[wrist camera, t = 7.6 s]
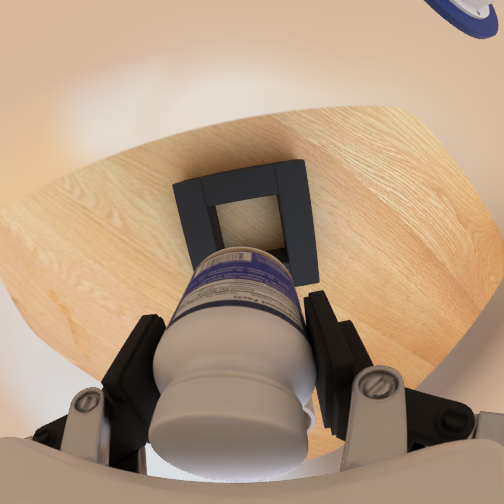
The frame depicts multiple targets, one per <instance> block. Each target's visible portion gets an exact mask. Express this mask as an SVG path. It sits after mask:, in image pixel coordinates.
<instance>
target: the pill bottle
mask: <svg viewBox="0 0 504 504" xmlns="http://www.w3.org/2000/svg"><path fill="white" fill-rule="evenodd" d="M153 374H154V379H155V383H156V385H157V388H158V390H159V392H160V394H161V396H160V398H159V400H158V402H157V405H156V408H155V411H154V414H153V418H152V421H151V425H150V428H149V442H150V444H151V446H152V448H153V449H154V451H155V452H156V453H157V454H158V455H159V456H160V457H161V458H163V459H164V460H165V461H166V462H168V463H170V464H172V465H173V466H175V467H177V468H179V469H181V470H183V471H186V472H188V473H191V474H194V475H197V476H200V477H204V478H209V479H214V480H221V481H235V482H244V481H258V480H264V479H269V478H273V477H276V476H280V475H282V474H285V473H287V472H289V471H291V470H293V469H295V468H296V467H297V466H299V465H300V464H301V463H302V462H303V460H304V459H305V458H306V456H307V453H308V437H307V427H306V417H305V413H304V410H303V407H304V406H305V405H306V403H307V402H308V401H309V399H310V397H311V395H312V393H313V390H314V388H315V384H316V378H317V369H316V362H315V357H314V353H313V349H312V345H311V342H310V338H309V335H308V331H307V328H306V324H305V320H304V317H303V314H302V310H301V307H300V303H299V300H298V296H297V293H296V289H295V286H294V283H293V280H292V278H291V275H290V274H289V272H288V270H287V269H286V268H285V266H284V265H283V264H282V263H281V262H280V261H279V260H278V259H276V258H275V257H274V256H272V255H271V254H269V253H267V252H265V251H262V250H260V249H256V248H252V247H244V246H238V247H230V248H225V249H222V250H220V251H217V252H215V253H213V254H212V255H210V256H208V257H207V258H206V259H205V260H204V261H203V262H202V263H201V264H200V265H199V266H198V267H197V269H196V270H195V272H194V274H193V276H192V278H191V280H190V282H189V284H188V286H187V288H186V290H185V292H184V294H183V296H182V298H181V300H180V302H179V304H178V306H177V308H176V310H175V312H174V314H173V316H172V318H171V320H170V322H169V324H168V326H167V328H166V330H165V332H164V334H163V336H162V338H161V340H160V342H159V344H158V346H157V349H156V351H155V355H154V360H153Z"/></svg>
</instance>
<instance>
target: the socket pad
mask: <svg viewBox="0 0 504 504" xmlns="http://www.w3.org/2000/svg"><path fill="white" fill-rule="evenodd" d="M173 190H174V194H175V199H176V203H177V207H178V212H179V216H180V220H181V224H182V228H183V232H184V236H185V240H186V244H187V247H188V251H189V255H190V259H191V262H192V266H193V270H194V272H195V270H196V269H197V267H198V266H199V265H200V264H201V263H202V262H203V261H204V260H205V259H206V258H207V257H208V256H210V255H212V254H213V253H215V252H217V251H220V250H222V249H225V248H224V243H223V239H222V234H221V230H220V225H219V220H218V216H217V211H216V207H215V205H220V204H225V203H230V202H235V201H241V200H246V199H252V198H258V197H264V196H269V195H276V194H277V199H278V205H279V211H280V217H281V224H282V230H283V237H284V243H285V248H282V249H276V250H270V251H265V252H267V253H269V254H271V255H272V256H274V257H275V258H276V259H278V260H279V261H280V262H281V263H282V264H283V265H284V266H285V268H286V269H287V270H288V272H289V274H290V275H291V278H292V280H293V283H294V286H295V287H298V286H304V285H309V284H315V283H319V270H318V260H317V250H316V241H315V232H314V224H313V216H312V208H311V201H310V194H309V187H308V180H307V174H306V167H305V161H304V160H303V159H296V160H289V161H282V162H275V163H269V164H263V165H257V166H252V167H246V168H241V169H235V170H230V171H225V172H220V173H215V174H211V175H206V176H202V177H197V178H193V179H188V180H184V181H181V182H178V183H175V184H173Z"/></svg>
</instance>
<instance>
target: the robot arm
mask: <svg viewBox="0 0 504 504" xmlns="http://www.w3.org/2000/svg"><path fill="white" fill-rule="evenodd" d="M449 1H450V2H451V3H452V4H454V5H455V6H456V7H457V8H459V9H460V10H461V11H463V12H464V13H466V14H468V15H469V16H471V17H474V18H476V19H484V18H486V17H488V15H489V6H488V5H489V4H491V3H493V2H496V1H498V0H449ZM304 308H305V318H306V328H307V331H308V335H309V338H310V342H311V345H312V349H313V353H314V357H315V362H316V369H317V378H316V384H315V385H316V390H317V395H318V399H319V404H320V409H321V413H322V418H323V423H324V427H325V428H331V432H332V435H336V437H337V438H339V439H341V440H343V441H345V446H344V452H343V458H342V463H341V468H340V472H336V473H331V474H326V475H320V476H313V477H307V478H300V479H293V480H283V481H272V482H256V483H211V482H196V481H184V480H175V479H167V478H161V477H153V476H148V475H147V468H146V454H145V453H146V452H145V445H146V442H147V443H150V442H149V428H150V425H151V421H152V418H153V414H154V411H155V408H156V405H157V402H158V400H159V398H160V396H161V394H160V392H159V390H158V388H157V385H156V383H155V379H154V374H153V360H154V355H155V351H156V349H157V346H158V344H159V342H160V340H161V338H162V336H163V334H164V332H165V330H166V326H165V323H164V320H163V319H162V318H161V317H159V316H158V315H157V314H151V315H143V316H142V317H141V319H140V320H139V322H138V323H137V325H136V326H135V328H134V329H133V331H132V332H131V334H130V336H129V337H128V339H127V340H126V342H125V343H124V345H123V347H122V348H121V350H120V351H119V353H118V355H117V356H116V358H115V360H114V361H113V363H112V364H111V366H110V368H109V369H108V371H107V373H106V374H105V376H104V378H103V380H102V381H101V383H102V385H103V388H102V390H100V389H99V388H95V387H90V388H86V389H84V390H82V391H80V392H79V393H78V394H77V395H76V396H75V397H74V398H73V400H72V402H71V405H70V409H69V413H68V414H67V415H65V416H63V417H61V418H59V419H57V420H55V421H53V422H51V423H49V424H46V425H44V426H42V427H41V428H39V429H37V430H36V432H35V434H34V436H30V437H27V438H24V439H22V438H16V437H3V438H0V504H504V414H501V413H492V412H484V411H480V413H479V414H474V413H473V412H472V410H471V408H469V407H468V406H467V405H465V404H463V403H460V402H456V401H452V400H448V399H445V398H441V397H437V396H433V395H430V394H426V393H422V392H419V391H416V390H412V389H409V388H406V387H404V381H403V378H402V376H401V374H400V373H399V372H398V371H397V370H395V369H393V368H391V367H388V366H382V365H376V366H374V365H373V363H372V361H371V359H370V357H369V355H368V353H367V351H366V349H365V347H364V345H363V343H362V341H361V339H360V337H359V335H358V333H357V331H356V329H355V327H354V325H353V323H352V322H351V320H347V321H342V322H338V321H337V319H336V316H335V314H334V312H333V310H332V308H331V305H330V303H329V301H328V299H327V297H326V294H325V292H324V291H323V290H322V291H316V292H311V293H309V297H304Z"/></svg>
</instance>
